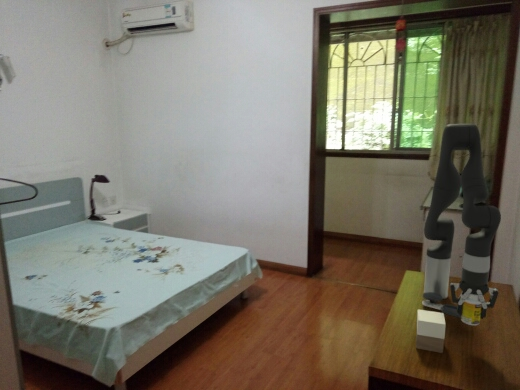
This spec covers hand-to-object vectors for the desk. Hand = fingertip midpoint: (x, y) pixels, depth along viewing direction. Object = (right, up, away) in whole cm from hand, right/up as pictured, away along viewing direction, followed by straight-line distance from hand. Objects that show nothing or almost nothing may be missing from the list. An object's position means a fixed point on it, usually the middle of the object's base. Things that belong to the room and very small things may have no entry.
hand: (470, 315), depth 128 cm
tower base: (-13, -10, +2) cm, 16 cm away
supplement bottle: (0, -2, 0) cm, 2 cm away
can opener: (+4, -7, +24) cm, 25 cm away
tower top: (-13, -5, +2) cm, 14 cm away
